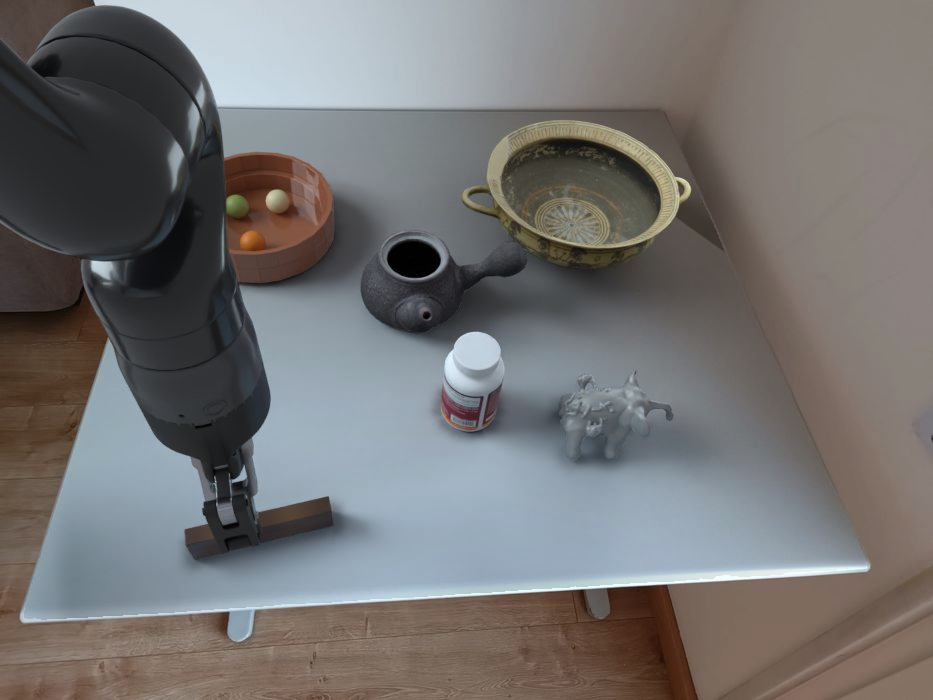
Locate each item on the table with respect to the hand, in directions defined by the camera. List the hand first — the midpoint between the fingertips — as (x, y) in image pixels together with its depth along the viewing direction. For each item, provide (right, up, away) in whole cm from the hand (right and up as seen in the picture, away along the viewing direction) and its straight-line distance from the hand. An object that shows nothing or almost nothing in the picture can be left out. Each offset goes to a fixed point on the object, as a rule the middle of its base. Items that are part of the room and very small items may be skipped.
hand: (241, 486), depth 55 cm
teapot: (+14, +16, +32) cm, 38 cm away
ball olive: (-12, +28, +37) cm, 48 cm away
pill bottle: (+17, +4, +23) cm, 29 cm away
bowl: (-9, +26, +36) cm, 45 cm away
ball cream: (-7, +29, +38) cm, 48 cm away
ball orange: (-9, +23, +33) cm, 41 cm away
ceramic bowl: (+31, +26, +41) cm, 57 cm away
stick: (-2, -7, +13) cm, 15 cm away
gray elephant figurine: (+33, +2, +23) cm, 40 cm away
